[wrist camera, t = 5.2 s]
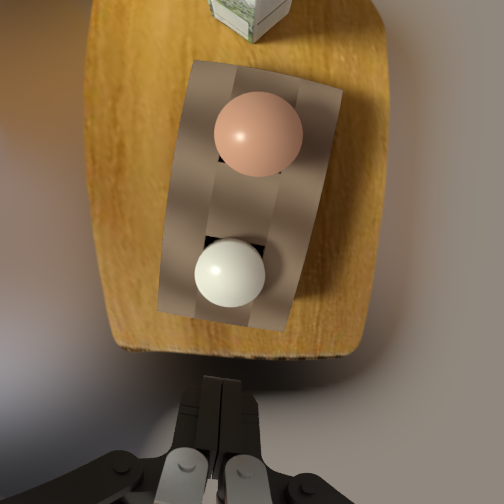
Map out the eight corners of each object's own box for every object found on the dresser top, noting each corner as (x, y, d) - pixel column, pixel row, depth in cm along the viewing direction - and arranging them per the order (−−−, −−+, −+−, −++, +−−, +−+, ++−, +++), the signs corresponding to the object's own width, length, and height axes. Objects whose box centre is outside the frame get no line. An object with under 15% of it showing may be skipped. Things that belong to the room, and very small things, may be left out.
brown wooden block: (203, 76, 25) (193, 59, 19) (323, 100, 26) (343, 90, 21) (170, 283, 32) (157, 311, 27) (277, 301, 33) (284, 331, 28)
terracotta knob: (228, 101, 23) (223, 84, 17) (292, 114, 24) (310, 102, 17) (216, 163, 25) (206, 168, 18) (279, 175, 26) (292, 184, 19)
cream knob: (209, 216, 29) (199, 237, 23) (265, 225, 30) (271, 249, 23) (201, 267, 31) (191, 301, 24) (254, 276, 32) (257, 312, 25)
